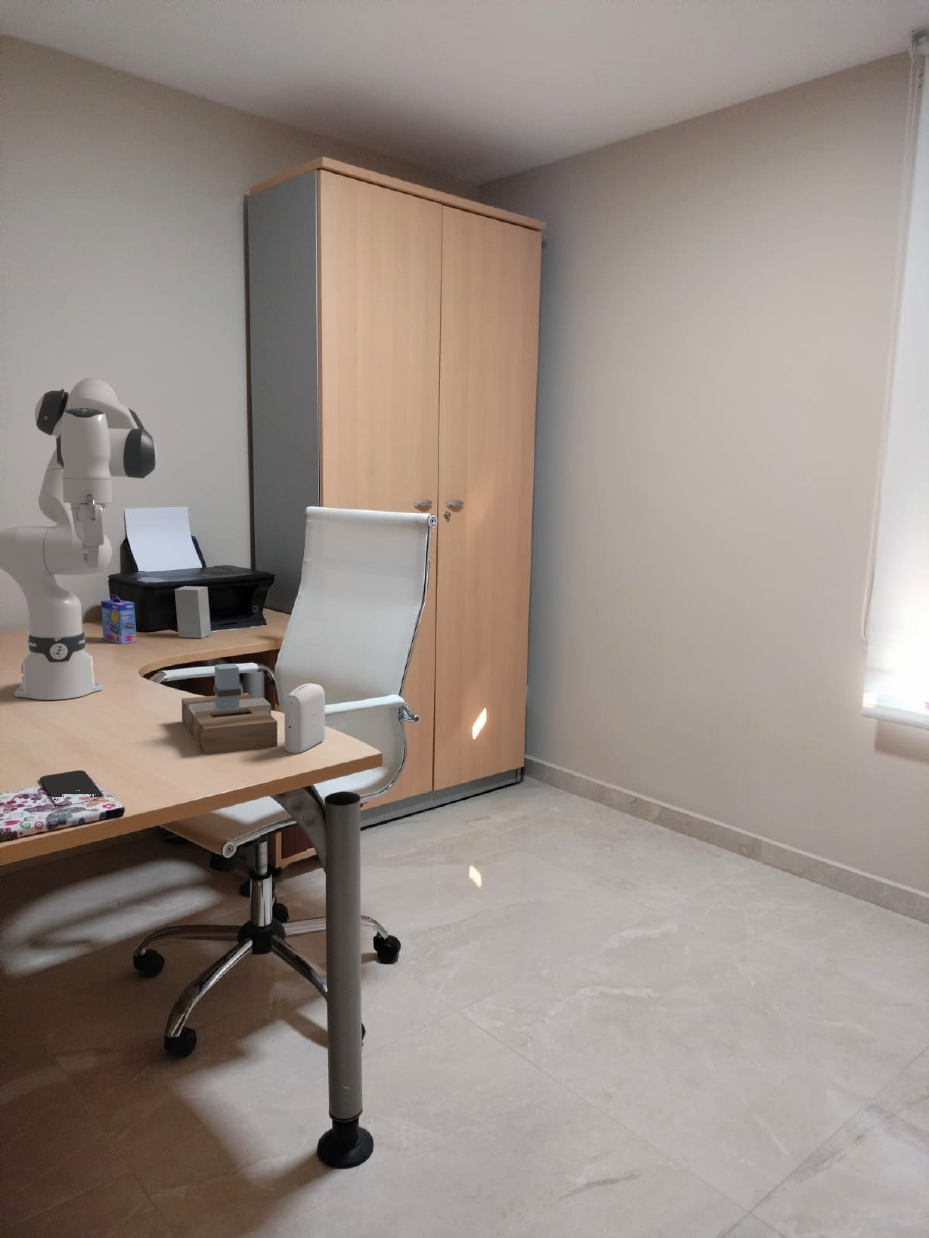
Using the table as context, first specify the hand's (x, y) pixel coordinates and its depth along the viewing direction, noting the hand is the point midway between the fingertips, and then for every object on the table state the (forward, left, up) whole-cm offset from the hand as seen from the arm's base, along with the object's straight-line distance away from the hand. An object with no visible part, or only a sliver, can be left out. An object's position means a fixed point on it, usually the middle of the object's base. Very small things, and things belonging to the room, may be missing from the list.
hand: (90, 564), depth 177 cm
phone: (+32, -7, -35) cm, 48 cm away
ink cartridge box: (-97, +15, -34) cm, 104 cm away
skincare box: (-97, +37, -34) cm, 109 cm away
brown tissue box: (+10, +24, -34) cm, 43 cm away
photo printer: (+24, +36, -34) cm, 55 cm away
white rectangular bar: (+10, +25, -32) cm, 42 cm away
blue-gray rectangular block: (+10, +24, -28) cm, 38 cm away
